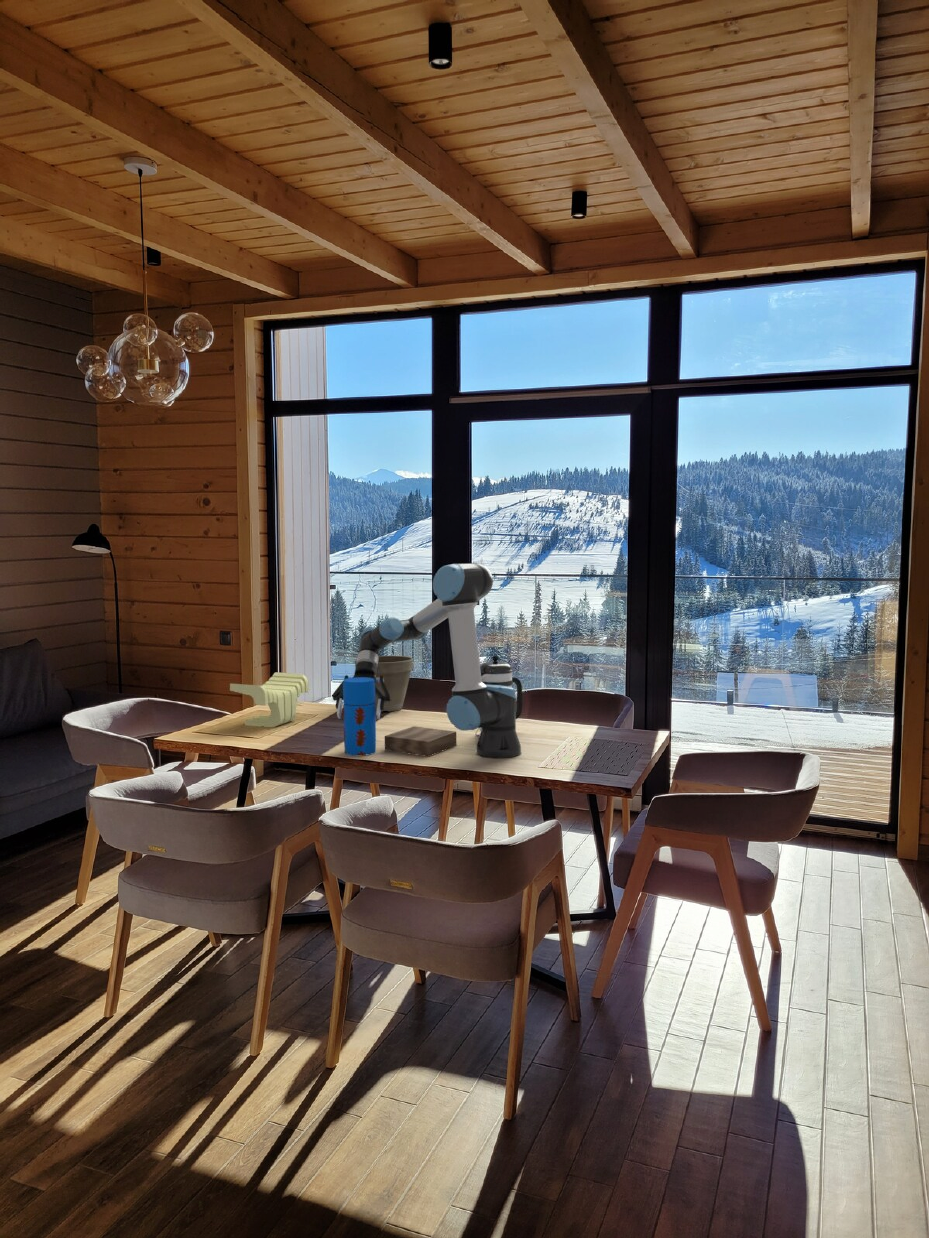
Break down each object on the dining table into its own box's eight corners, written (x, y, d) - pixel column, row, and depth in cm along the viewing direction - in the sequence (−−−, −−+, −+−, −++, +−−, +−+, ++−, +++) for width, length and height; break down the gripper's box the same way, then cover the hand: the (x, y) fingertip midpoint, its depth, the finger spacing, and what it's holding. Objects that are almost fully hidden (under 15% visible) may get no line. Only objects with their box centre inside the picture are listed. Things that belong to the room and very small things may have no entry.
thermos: (345, 756, 306) (343, 682, 304) (343, 749, 317) (341, 677, 314) (377, 754, 308) (376, 681, 306) (374, 747, 319) (373, 676, 316)
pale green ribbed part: (266, 732, 344) (264, 685, 343) (231, 729, 350) (229, 683, 349) (309, 717, 372) (308, 674, 370) (276, 714, 378) (275, 672, 376)
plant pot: (362, 702, 403) (361, 654, 401) (417, 703, 400) (417, 654, 398) (350, 714, 378) (349, 662, 376) (408, 714, 376) (408, 662, 374)
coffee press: (515, 741, 326) (515, 658, 323) (471, 739, 329) (471, 657, 326) (522, 731, 343) (522, 652, 340) (480, 729, 346) (480, 651, 343)
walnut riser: (456, 745, 321) (456, 731, 320) (428, 756, 305) (428, 741, 305) (414, 739, 330) (413, 726, 329) (384, 750, 315) (384, 735, 314)
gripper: (402, 672, 324) (395, 723, 311) (334, 672, 327) (324, 722, 313) (399, 660, 318) (392, 710, 305) (330, 659, 321) (319, 709, 307)
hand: (358, 716), depth 309 cm, fingers open, 13 cm apart
